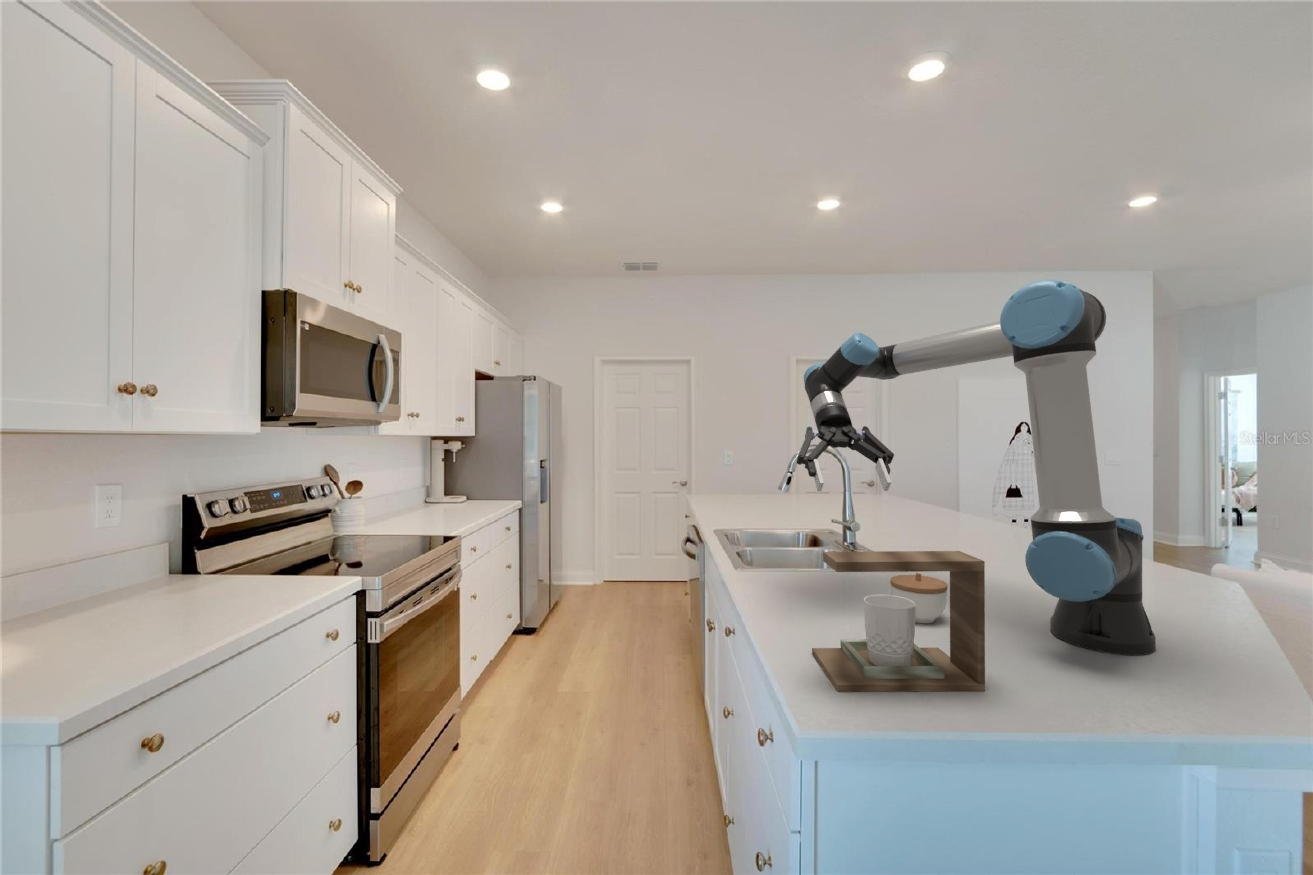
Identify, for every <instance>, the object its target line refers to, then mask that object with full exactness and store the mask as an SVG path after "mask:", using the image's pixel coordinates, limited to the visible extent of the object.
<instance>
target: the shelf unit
mask: <svg viewBox="0 0 1313 875" xmlns="http://www.w3.org/2000/svg"><path fill="white" fill-rule="evenodd" d="M822 562H824V563H825V565H827V566H829V567H830V568H831V569H832V570H834V571H835V572H836V573H872V572H873V573H884V572H885V573H889V572H891V573H893V572H894V573H899V572H905V573H906V572H908V573H909V572H910V573H913V572H914V573H921V572H925V573H926V572H949V653H950V654H949V655H948V654H947V653H945V652H944V651H943V650H942V649H940V648H939V647H919V646H918V645H917V644H916V643H914V648H913V664H912V666H875V665H874V664H872V663H871V662H869V659H868V653H867V642H866V638H865V639H864V638H863V639H862V638H861V639H858V638H857V639H856V638H855V639H853V638H852V639H851V638H850V639H845V638H844V639H840V647H812V648H811V655H812V657H814V659H815V660H816V662H817V663H818V665H819V667H821V669H822V671H823V672H824V674H825V675H826V677H827V678H828V679H829V681H830V682H831V684H832V686H833V687H834V688H835V690H836V691H837V692H843V693H844V692H846V691H847V692H849V691H850V692H985V691H986V655H985V654H986V632H985V630H986V625H985V624H986V618H985V615H986V611H985V610H986V609H985V608H986V606H985V605H986V604H985V602H986V600H985V599H986V598H985V596H986V595H985V594H986V592H985V586H986V584H985V574H986V573H985V572H986V571H985V570H986V569H985V568H986V567H985V566H986V565H985V562H986V561H985V560H983V559H980V558H978V557H975V556H973V555H970V554H967V553H966V552H963V551H960V550H921V551H920V550H918V551H917V550H916V551H915V550H908V551H905V550H904V551H903V550H899V551H897V550H896V551H887V550H886V551H883V550H882V551H881V550H880V551H876V550H875V551H823V552H822Z"/></svg>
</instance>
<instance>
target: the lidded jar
mask: <svg viewBox="0 0 1313 875" xmlns="http://www.w3.org/2000/svg"><path fill="white" fill-rule="evenodd" d="M889 582H890V593H891V594H890V595H893V596H899V597H903V598H907V599H909V600H912V601H913V602H915V604H916V615H915V624H916V623H918V624H933V623H934V622H936V620H937V619H938V618H939V617H941V615H942V614H943V613H944V612H945V611H944V610H945V608H946V605H947V601H948V600H947V598H948V594H947V593H948V584H947V582H946V581H944V580H943V579H942V580H941V579H938V578H936V577H931V576H925V575H922V573H921V572H915V574H898V575H895V576H894V575H893V576H892V577H890V581H889Z"/></svg>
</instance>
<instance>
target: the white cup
mask: <svg viewBox="0 0 1313 875" xmlns="http://www.w3.org/2000/svg"><path fill="white" fill-rule="evenodd" d="M863 606H864V608H863V612H864V627H865V628H864V629H865V639H866V642H867V653H868V659H869V662H871V663H872V664H874V665H875V666H912V664H913V648H914V644H915V634H916V633H915V632H916V622H915V615H916V604H915V602H913V601H912V600H909V599H907V598H903V597H899V596H893V595H892V594H871V595H867V596H865V597H864V598H863Z"/></svg>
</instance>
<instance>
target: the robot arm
mask: <svg viewBox="0 0 1313 875" xmlns="http://www.w3.org/2000/svg"><path fill="white" fill-rule="evenodd" d="M1106 322H1107V313H1106V310H1105V307H1104V305H1103V304H1102V302H1101V301H1100V300H1099V299H1098V298H1097V297H1096V296H1095V295H1093V294H1091V293H1089V292H1087V291H1084V290H1083V289H1080V288H1078V287H1077V286H1076V285H1074V284H1073V283H1071V282H1068V281H1064V280H1057V279H1041V280H1036V281H1033V282H1030V283H1028V284H1026V285H1024V286H1022V287H1020V288H1019V289H1017V291H1015V292H1014V293H1013V294H1012V295H1011V296H1010V297H1009V298H1008V300H1007V301H1006V302H1005V304H1004V305H1003V308H1002V309H1001V311H1000V318H999V321H994V322H990V323H985V324H981V325H977V326H971V327H968V328H963V329H962V328H961V329H958V330H954V331H950V332H944V333H941V334H936V335H931V336H927V337H922V338H919V339H913V340H908V341H904V342H900V343H896V344H891V345H887V346H878V344H877V342H875V340H873V339H872V338H871V337H870V336H869V335H865V333H862V332H855V333H853V334H852V335H851V336H850V337H848V338H847V339H846V340H845V341H843V343H842V344H841V345H840V346H839V348H838V349H837V350H836V351H835V352H834V353H833V354H832V355H831V356H830V357H829V358H828V359H827V360H826V361H825V363H823V362H819V363H816V364H815V363H814V365H811V366H809V367H808V368H807V369H806V371H805V372H804V374H803V384H804V389H805V392H806V395H807V397H808V400H809V403H810V408H811V411H812V416H813V418H814V423H815V426H816V428H817V429H813V428H812V426H807V427H806V430H805V433H804V440H803V442H802V445H801V447H800V449H799V453H798V454H797V455H798V456H797V459H796V464H797V465H799V466H800V465H804V468H805V469H806V470H807V473H808V476H809V477H812V478H813V479H814V483H815V487H816V491H817V492H822V490H823V488H824V487H823V486H824V484H825V482H824V479H823V474H822V472H821V467H820V464H819V457H820V456H821V455H822V453H824V451H826V450H827V449H828V448H829V447H832V448H833V449H836V448H842V449H847V448H849V449H850V450H852V451H856V452H857V453H858V454H860V455H861V456H864V457H865V458H867V459H868V460H869V461H872V462H873V463H874V464H875V466H874V468H875V470H876V474H877V476H878V479H879V481H880V484H881V487H882V489H883V491H884V492H888V491H889V488H890V487H891V484H892V481H891V477H890V474H891V468H890V465H891V464H892V461H893V460H894V457H895V454H894V453H893V452H892V451H891V450H890V449H889V448H888V447H887V445H885V444H883V442H882V441H881V440H879V439H878V438H877V437H876V436H875V435H874V434H873V433H872V432H871V430H870V429H869V427H868V426H865V425H864V426H862V429H856V428H855V427H854V426H853V424H852V423H853V422H852V419H851V416H850V414H849V410H848V408H847V405H846V403H845V399H844V397H843V394H842V391H843V390H845V389H846V387H848V386H849V385H850V384H851V383H852V382H853V381H854V380H855V379H856V378H858V377H860V378H871V379H879V380H882V381H883V380H885V381H886V380H893V379H896V378H898V377H900V376H903V375H904V376H905V375H909V374H915V373H919V372H925V371H926V372H927V371H932V370H937V369H944V368H951V367H954V366H961V365H968V364H973V363H978V362H980V363H981V362H983V361H984V362H985V361H990V360H995V359H996V360H997V359H1003V358H1008V357H1013V358H1012V359H1013V366H1014V367H1015V368H1017V369H1018V370H1020V371H1022V372H1023V374H1024V375H1025V384H1026V391H1027V401H1028V409H1029V418H1030V419H1029V420H1030V427H1031V429H1030V430H1031V440H1032V447H1033V456H1034V466H1035V476H1036V483H1037V484H1036V485H1037V494H1038V503H1039V508H1038V509H1037V511H1036V512H1034V514H1032V515H1031V516H1030V526H1031V533H1032V534H1031V535H1032V541H1031V542H1030V544H1028V547H1027V549H1026V552H1025V555H1024V556H1025V566H1026V570H1027V573H1028V574H1029V576H1030V578H1031V579H1032V581H1033V582H1034V583H1035V584H1036V585H1037V586H1038V587H1040V588H1041V589H1042V590H1043V591H1044V592H1046V593H1047V594H1049V595H1051V596H1053V597H1055V598H1057V599H1058V600H1057V602H1056V604H1055V605H1056V606H1055V607H1054V611H1053V615H1052V616H1050V623H1049V624H1050V626H1049V627H1050V628H1049V630H1050V633H1051V634H1052V635H1053V636H1054V637H1056V638H1058V639H1059V640H1062V641H1064V642H1066V643H1070V644H1072V645H1074V646H1078V647H1081V648H1084V649H1089V650H1093V651H1098V652H1102V653H1110V654H1115V655H1116V654H1117V655H1125V656H1126V655H1127V656H1140V655H1141V656H1143V655H1150V654H1153V653H1154V652H1155V651H1156V646H1157V644H1156V635H1155V633H1154V631H1153V628H1152V626H1151V623H1150V620H1149V616H1148V615H1147V613H1146V609H1145V608H1144V604H1143V541H1144V535H1143V528H1142V525H1141V523H1140V522H1139V520H1137V519H1134V518H1126V517H1125V518H1123V517H1116V516H1114V515H1113V514H1112V513H1110V512H1108V511H1107V510H1106V509H1105V508H1104V507H1103V500H1102V493H1101V491H1102V490H1101V483H1100V482H1101V481H1100V474H1099V466H1098V465H1099V464H1098V457H1097V448H1096V439H1095V431H1094V423H1093V422H1094V421H1093V414H1092V405H1091V398H1090V389H1089V388H1090V387H1089V379H1088V371H1087V366H1088V364H1089V362H1090V361H1091V360H1093V359H1094V358H1095V356H1096V355H1097V348H1096V341H1097V340H1098V339H1099V338H1100V336H1101V335H1102V333H1103V332H1104V330H1105V327H1106ZM816 437H817V438H818V439H819V440H820V441H819V443H818V444H817V445H816V446H815V447H814V448H813V450H811V452H810V453H809V454H808V455H807V452H808V451H809V448H810V446H811V443H812V441H813V440H814V439H815V438H816Z"/></svg>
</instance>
